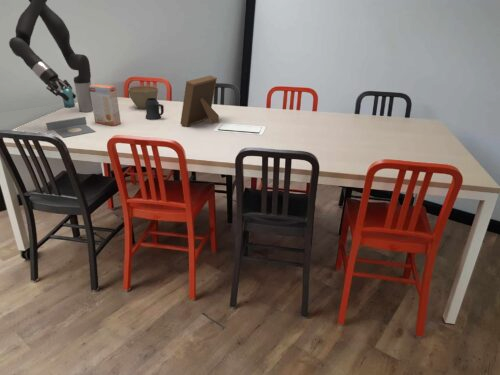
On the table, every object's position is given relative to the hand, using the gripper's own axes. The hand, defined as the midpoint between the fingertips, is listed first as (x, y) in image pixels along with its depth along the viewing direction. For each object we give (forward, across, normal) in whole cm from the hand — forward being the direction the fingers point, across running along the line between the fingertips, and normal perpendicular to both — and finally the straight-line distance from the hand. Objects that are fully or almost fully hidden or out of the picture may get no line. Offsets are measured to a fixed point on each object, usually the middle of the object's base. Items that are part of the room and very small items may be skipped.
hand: (71, 98), depth 189 cm
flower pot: (+21, +54, +3) cm, 58 cm away
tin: (+2, 0, +4) cm, 5 cm away
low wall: (+5, +5, +19) cm, 20 cm away
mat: (+11, 0, +13) cm, 17 cm away
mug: (+33, +33, -8) cm, 47 cm away
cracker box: (+18, +17, +7) cm, 25 cm away
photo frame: (+54, +31, -30) cm, 69 cm away
